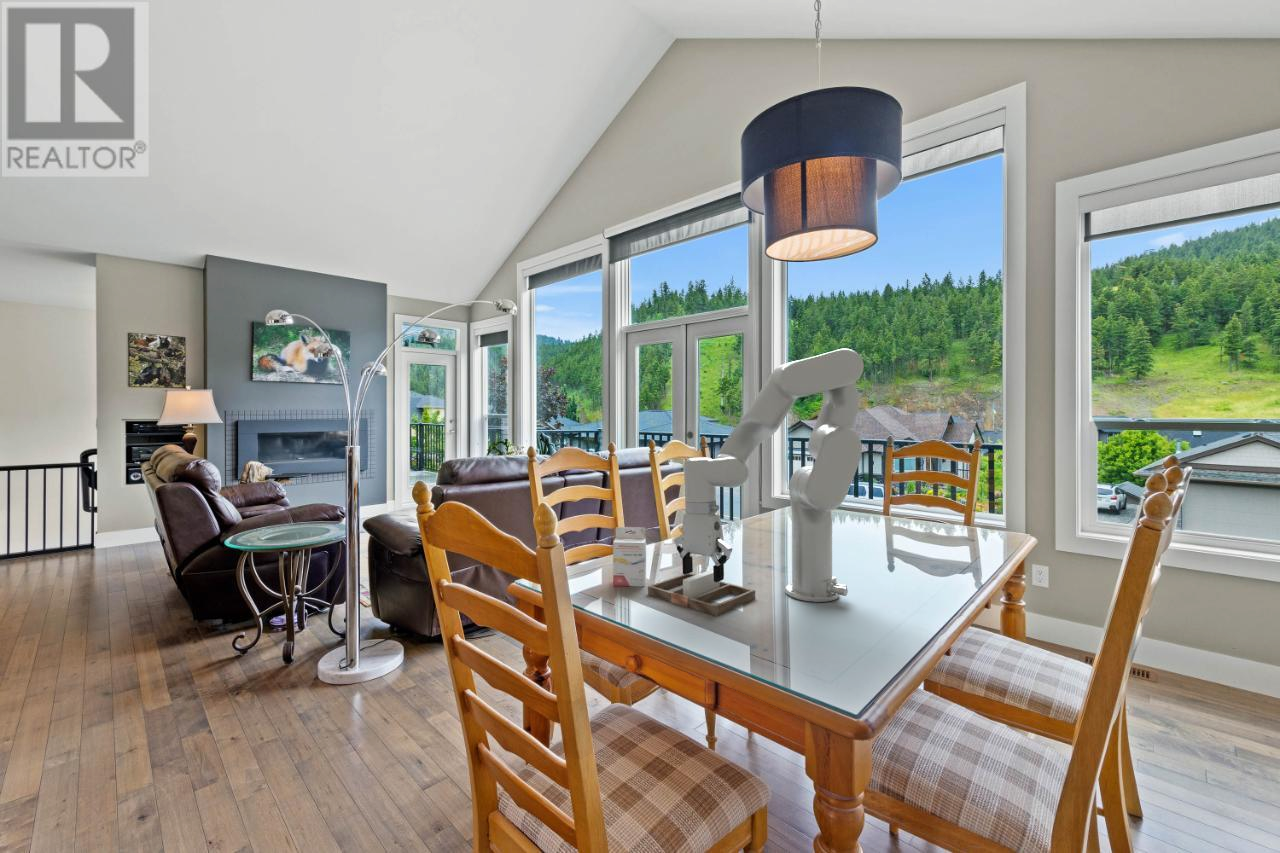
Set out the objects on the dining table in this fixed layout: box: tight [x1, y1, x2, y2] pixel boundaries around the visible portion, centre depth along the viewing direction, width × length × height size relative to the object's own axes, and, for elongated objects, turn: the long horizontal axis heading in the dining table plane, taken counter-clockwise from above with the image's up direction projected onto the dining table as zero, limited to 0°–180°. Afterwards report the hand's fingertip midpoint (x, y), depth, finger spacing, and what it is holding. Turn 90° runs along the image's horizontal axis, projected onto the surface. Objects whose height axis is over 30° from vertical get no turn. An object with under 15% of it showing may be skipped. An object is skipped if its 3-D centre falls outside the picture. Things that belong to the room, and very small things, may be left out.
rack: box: [647, 572, 756, 617], centre depth 135 cm, size 21×16×2 cm
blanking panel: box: [682, 568, 720, 598], centre depth 136 cm, size 2×12×5 cm, turn 135°
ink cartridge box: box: [612, 526, 647, 587], centre depth 146 cm, size 9×5×15 cm, turn 84°
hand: (702, 576), depth 135 cm, fingers open, 9 cm apart
